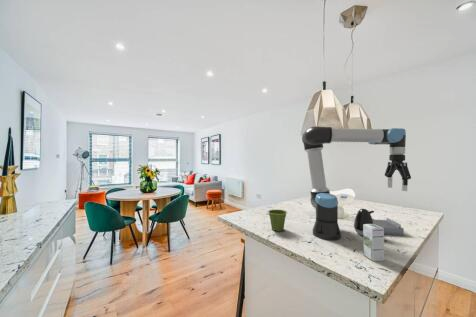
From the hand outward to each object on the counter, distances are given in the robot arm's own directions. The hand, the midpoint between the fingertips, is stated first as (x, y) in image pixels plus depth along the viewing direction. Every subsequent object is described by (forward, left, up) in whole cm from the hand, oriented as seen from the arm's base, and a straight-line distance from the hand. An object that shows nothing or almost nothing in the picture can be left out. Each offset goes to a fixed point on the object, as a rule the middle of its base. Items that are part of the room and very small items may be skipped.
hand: (396, 189), depth 120 cm
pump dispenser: (-21, -8, -26) cm, 35 cm away
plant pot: (-71, -7, -26) cm, 76 cm away
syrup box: (-30, -37, -26) cm, 54 cm away
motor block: (-7, +4, -26) cm, 27 cm away
